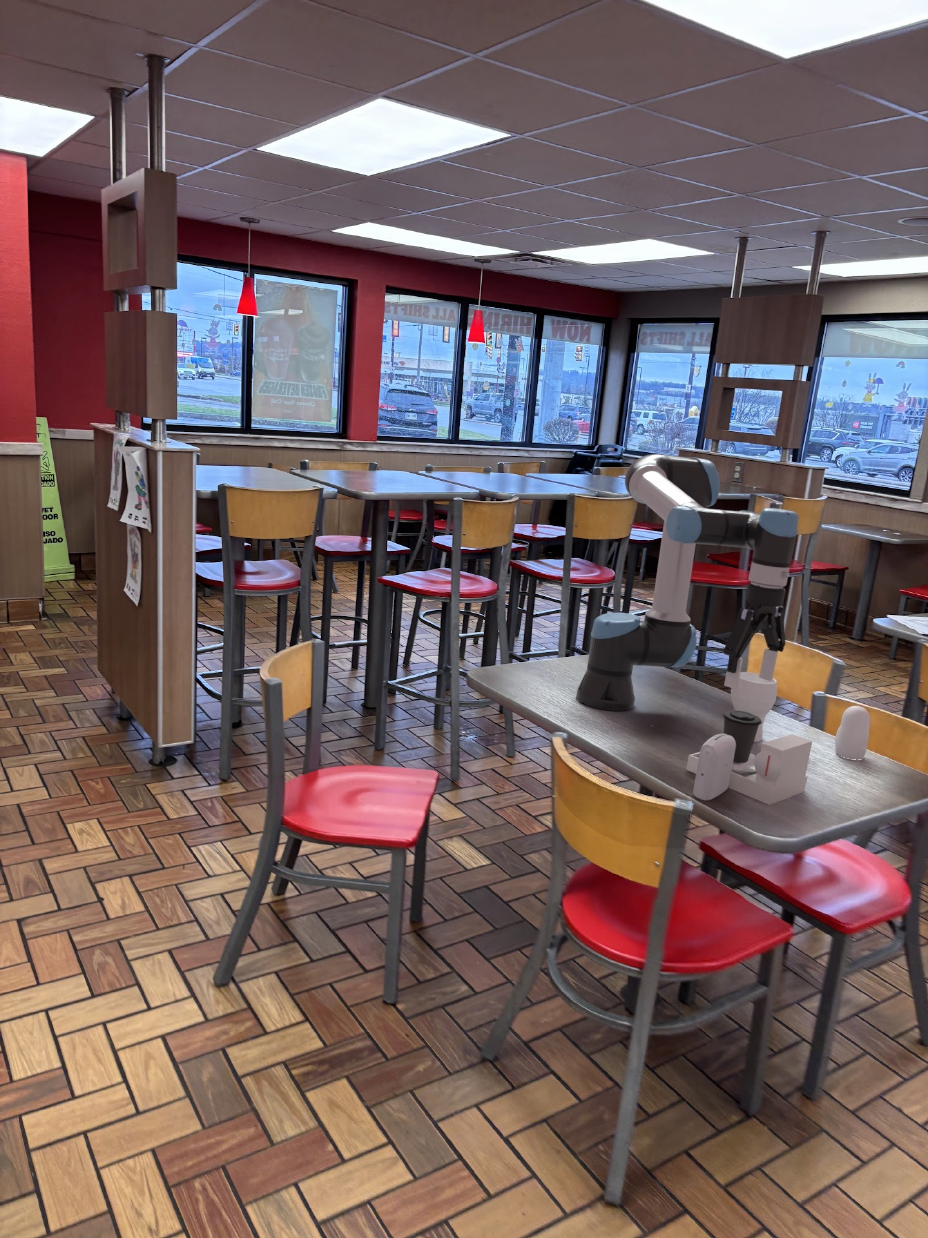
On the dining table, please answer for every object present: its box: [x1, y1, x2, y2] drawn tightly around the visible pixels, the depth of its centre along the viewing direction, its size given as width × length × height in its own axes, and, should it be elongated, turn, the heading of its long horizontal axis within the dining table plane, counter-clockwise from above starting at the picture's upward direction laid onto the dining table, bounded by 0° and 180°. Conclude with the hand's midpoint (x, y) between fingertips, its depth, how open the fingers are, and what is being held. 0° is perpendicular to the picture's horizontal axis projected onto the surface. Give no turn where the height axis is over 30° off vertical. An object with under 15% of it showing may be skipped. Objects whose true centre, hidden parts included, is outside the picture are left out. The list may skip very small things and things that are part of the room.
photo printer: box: [692, 733, 736, 801], centre depth 183 cm, size 10×4×12 cm, turn 140°
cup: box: [730, 671, 778, 743], centre depth 220 cm, size 11×11×15 cm
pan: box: [731, 752, 757, 774], centre depth 195 cm, size 12×12×3 cm
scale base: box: [685, 733, 813, 806], centre depth 192 cm, size 21×14×11 cm
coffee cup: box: [722, 710, 762, 763], centre depth 193 cm, size 8×8×10 cm
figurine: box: [834, 705, 871, 760], centre depth 215 cm, size 7×8×12 cm
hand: (748, 683), depth 191 cm, fingers open, 13 cm apart
